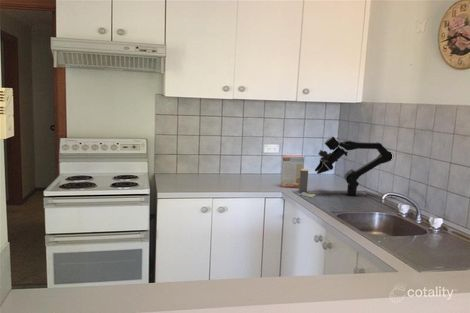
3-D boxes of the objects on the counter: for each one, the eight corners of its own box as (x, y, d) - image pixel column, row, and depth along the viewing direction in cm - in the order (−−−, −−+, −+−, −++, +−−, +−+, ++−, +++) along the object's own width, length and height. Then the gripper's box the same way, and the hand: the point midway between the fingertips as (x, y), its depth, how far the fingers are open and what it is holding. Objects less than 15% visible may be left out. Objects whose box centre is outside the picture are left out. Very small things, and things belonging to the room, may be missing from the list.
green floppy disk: (303, 193, 262) (303, 192, 262) (315, 195, 258) (315, 194, 258) (299, 195, 256) (299, 194, 256) (311, 197, 252) (311, 196, 252)
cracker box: (301, 186, 284) (303, 155, 281) (302, 188, 278) (304, 156, 275) (280, 185, 283) (282, 154, 280) (281, 187, 277) (283, 155, 274)
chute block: (305, 191, 268) (307, 169, 266) (306, 193, 264) (308, 170, 262) (298, 191, 268) (300, 168, 266) (299, 192, 264) (301, 170, 262)
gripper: (324, 144, 270) (306, 160, 273) (329, 147, 252) (309, 165, 254) (335, 157, 271) (317, 173, 273) (341, 161, 253) (321, 178, 255)
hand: (316, 172), depth 264 cm, fingers open, 9 cm apart
